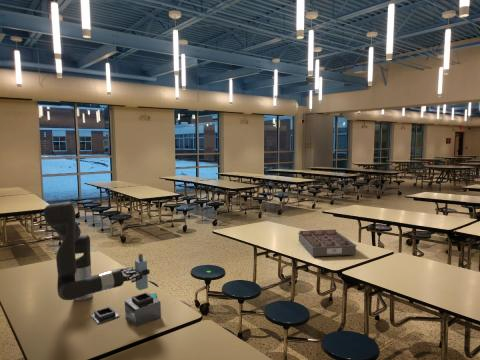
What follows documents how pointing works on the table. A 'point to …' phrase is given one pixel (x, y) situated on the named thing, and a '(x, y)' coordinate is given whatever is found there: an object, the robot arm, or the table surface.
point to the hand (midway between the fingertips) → (146, 270)
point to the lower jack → (104, 315)
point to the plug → (141, 266)
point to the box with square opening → (142, 309)
